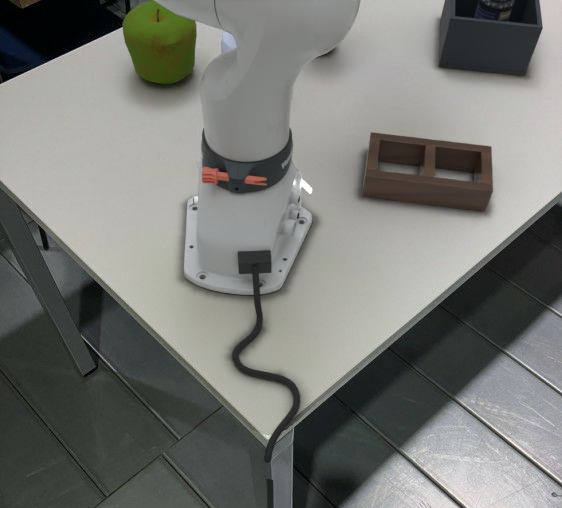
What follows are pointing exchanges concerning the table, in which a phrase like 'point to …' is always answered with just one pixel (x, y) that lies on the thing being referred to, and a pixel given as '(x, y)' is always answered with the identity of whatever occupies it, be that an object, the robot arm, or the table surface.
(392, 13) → the table surface
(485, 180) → the brown wooden caddy
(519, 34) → the open square box
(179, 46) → the apple
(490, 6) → the pill bottle
